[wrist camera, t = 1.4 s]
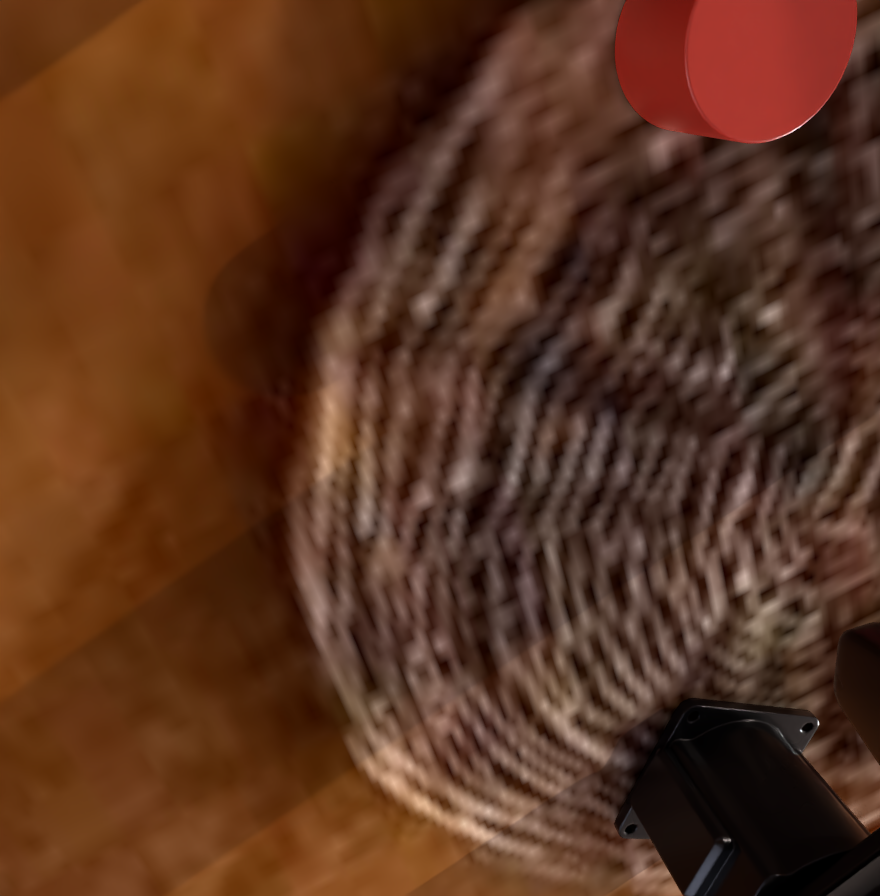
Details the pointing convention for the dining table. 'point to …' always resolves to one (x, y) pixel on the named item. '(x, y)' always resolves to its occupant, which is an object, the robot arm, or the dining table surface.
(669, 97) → the red cylinder
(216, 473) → the dining table surface
